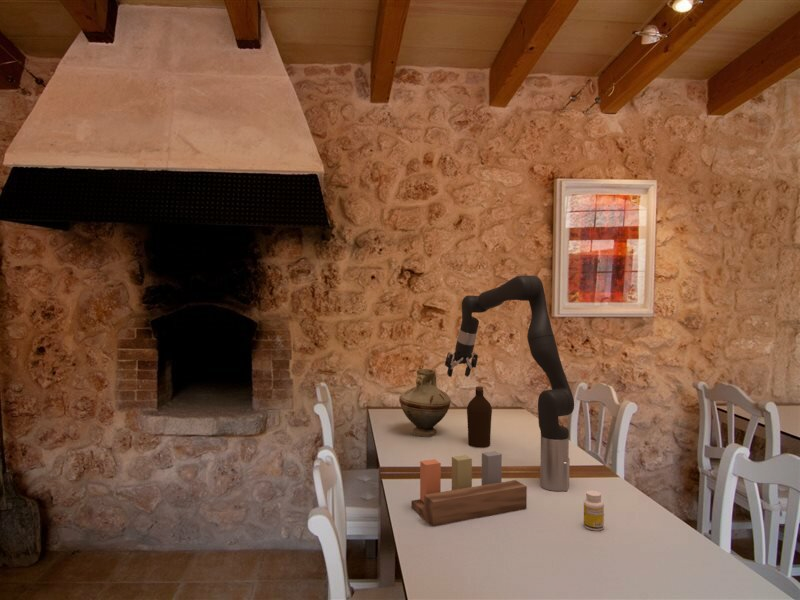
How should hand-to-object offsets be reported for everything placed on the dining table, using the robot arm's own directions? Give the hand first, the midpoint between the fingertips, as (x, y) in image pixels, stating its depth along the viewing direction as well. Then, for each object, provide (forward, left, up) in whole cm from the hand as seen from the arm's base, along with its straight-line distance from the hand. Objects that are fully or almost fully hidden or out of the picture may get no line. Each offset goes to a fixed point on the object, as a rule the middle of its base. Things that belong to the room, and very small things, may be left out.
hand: (458, 375), depth 237 cm
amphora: (+20, -12, -30) cm, 38 cm away
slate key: (-28, +52, -28) cm, 65 cm away
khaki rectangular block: (-21, +60, -28) cm, 69 cm away
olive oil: (-8, -5, -30) cm, 32 cm away
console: (-24, +63, -30) cm, 74 cm away
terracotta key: (-13, +68, -28) cm, 75 cm away
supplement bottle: (-60, +61, -30) cm, 91 cm away
